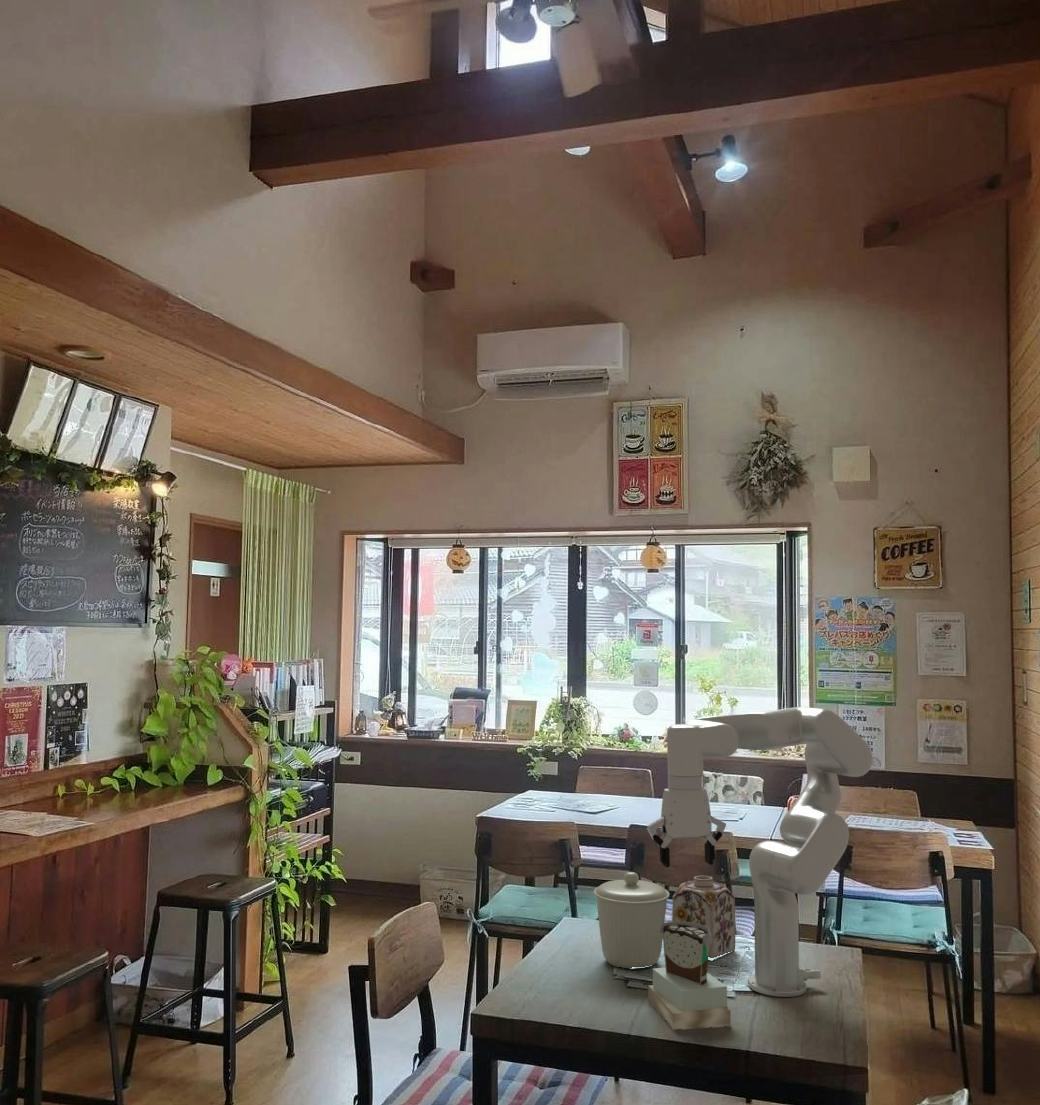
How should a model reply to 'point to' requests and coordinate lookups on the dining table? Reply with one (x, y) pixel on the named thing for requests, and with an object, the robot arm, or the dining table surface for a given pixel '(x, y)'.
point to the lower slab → (689, 1014)
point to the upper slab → (690, 991)
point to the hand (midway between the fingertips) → (687, 864)
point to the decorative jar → (707, 911)
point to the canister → (631, 920)
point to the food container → (686, 950)
